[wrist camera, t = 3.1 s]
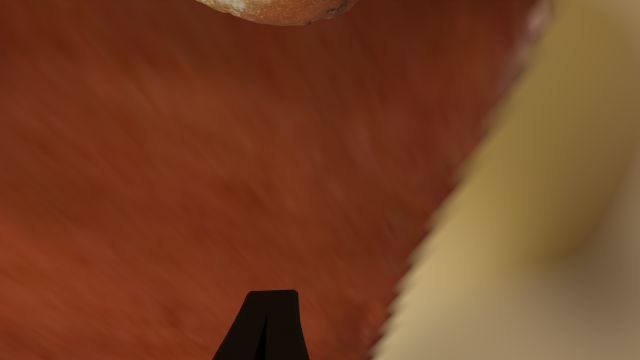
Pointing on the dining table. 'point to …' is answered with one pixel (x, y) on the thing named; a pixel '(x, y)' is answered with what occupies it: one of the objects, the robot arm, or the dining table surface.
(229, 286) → the dining table surface
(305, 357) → the robot arm
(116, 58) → the dining table surface
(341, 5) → the bread roll
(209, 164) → the dining table surface
